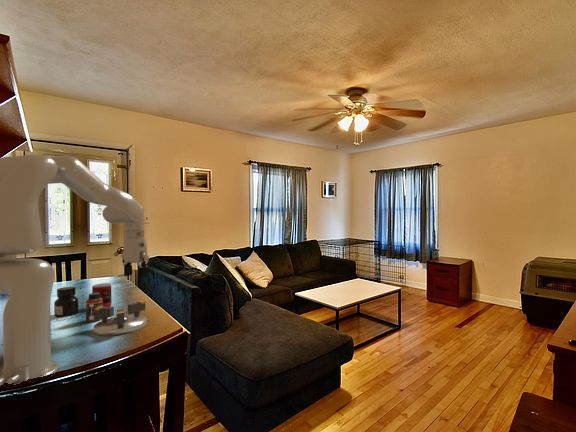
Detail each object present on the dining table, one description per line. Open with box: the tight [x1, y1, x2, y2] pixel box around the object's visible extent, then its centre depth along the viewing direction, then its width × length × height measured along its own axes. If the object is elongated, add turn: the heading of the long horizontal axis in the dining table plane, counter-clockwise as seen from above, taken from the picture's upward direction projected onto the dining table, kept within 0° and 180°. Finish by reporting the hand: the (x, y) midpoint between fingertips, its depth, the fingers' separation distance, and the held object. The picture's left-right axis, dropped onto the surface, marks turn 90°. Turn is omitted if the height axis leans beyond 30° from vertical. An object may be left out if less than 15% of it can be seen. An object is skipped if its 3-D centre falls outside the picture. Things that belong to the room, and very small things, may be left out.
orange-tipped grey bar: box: [95, 306, 115, 323], centre depth 115 cm, size 6×2×6 cm, turn 89°
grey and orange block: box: [127, 300, 146, 317], centre depth 120 cm, size 6×2×6 cm, turn 149°
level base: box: [93, 314, 147, 337], centre depth 114 cm, size 18×18×4 cm
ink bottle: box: [53, 286, 80, 318], centre depth 133 cm, size 10×9×12 cm
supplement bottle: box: [85, 292, 103, 323], centre depth 124 cm, size 6×6×11 cm
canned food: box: [91, 282, 113, 307], centre depth 144 cm, size 8×8×11 cm
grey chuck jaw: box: [116, 308, 125, 327], centre depth 109 cm, size 6×2×6 cm, turn 29°
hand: (135, 276), depth 121 cm, fingers open, 9 cm apart
